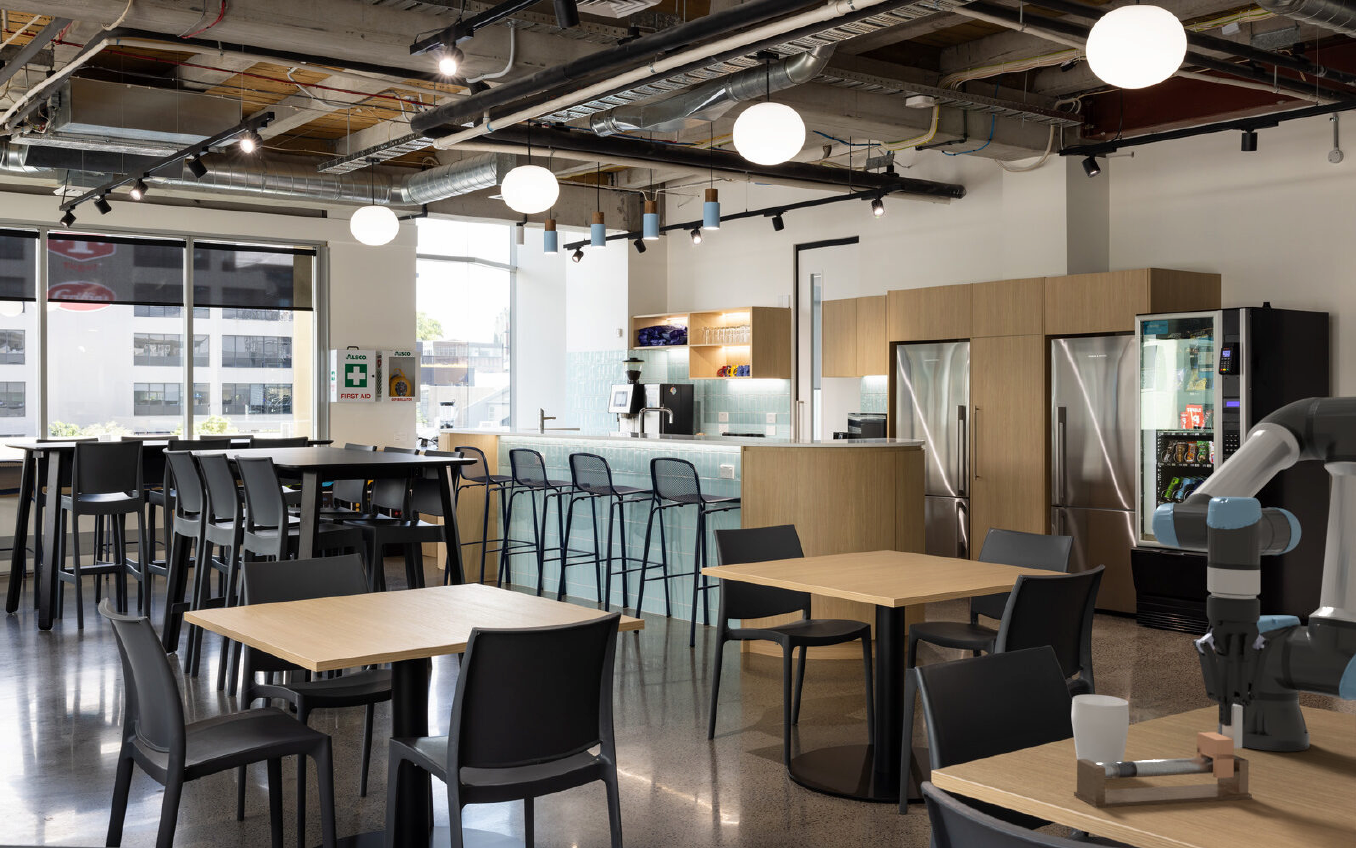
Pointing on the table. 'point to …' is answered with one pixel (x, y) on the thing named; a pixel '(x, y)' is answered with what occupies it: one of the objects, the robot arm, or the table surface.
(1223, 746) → the tan block
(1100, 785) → the wooden rod stand
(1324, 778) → the table surface
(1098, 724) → the cup
